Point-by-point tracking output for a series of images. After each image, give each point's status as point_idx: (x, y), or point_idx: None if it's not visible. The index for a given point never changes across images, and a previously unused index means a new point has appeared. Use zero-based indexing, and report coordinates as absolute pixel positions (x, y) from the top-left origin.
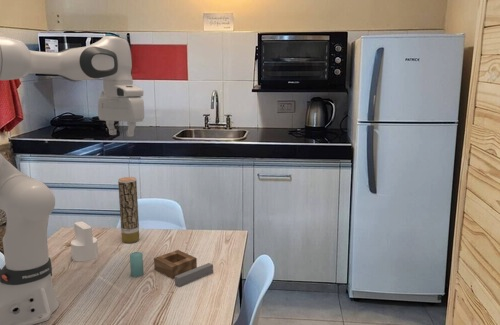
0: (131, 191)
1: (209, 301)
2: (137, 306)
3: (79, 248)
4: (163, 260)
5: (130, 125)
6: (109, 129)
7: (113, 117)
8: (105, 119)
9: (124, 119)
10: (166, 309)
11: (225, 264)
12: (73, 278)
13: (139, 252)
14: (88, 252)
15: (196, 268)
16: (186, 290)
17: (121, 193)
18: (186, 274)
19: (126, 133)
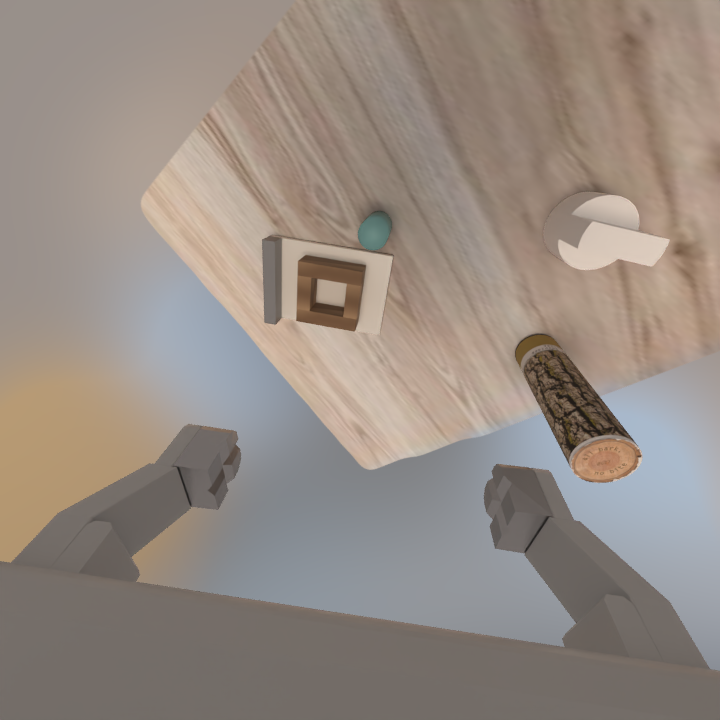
0: (561, 426)
1: (204, 236)
2: (276, 129)
3: (582, 201)
4: (337, 275)
5: (61, 517)
6: (558, 516)
7: (396, 701)
8: (702, 683)
9: (36, 604)
10: (228, 161)
11: (291, 358)
12: (507, 118)
13: (375, 248)
14: (556, 219)
15: (272, 293)
16: None
17: (592, 408)
18: (265, 261)
19: (215, 445)
